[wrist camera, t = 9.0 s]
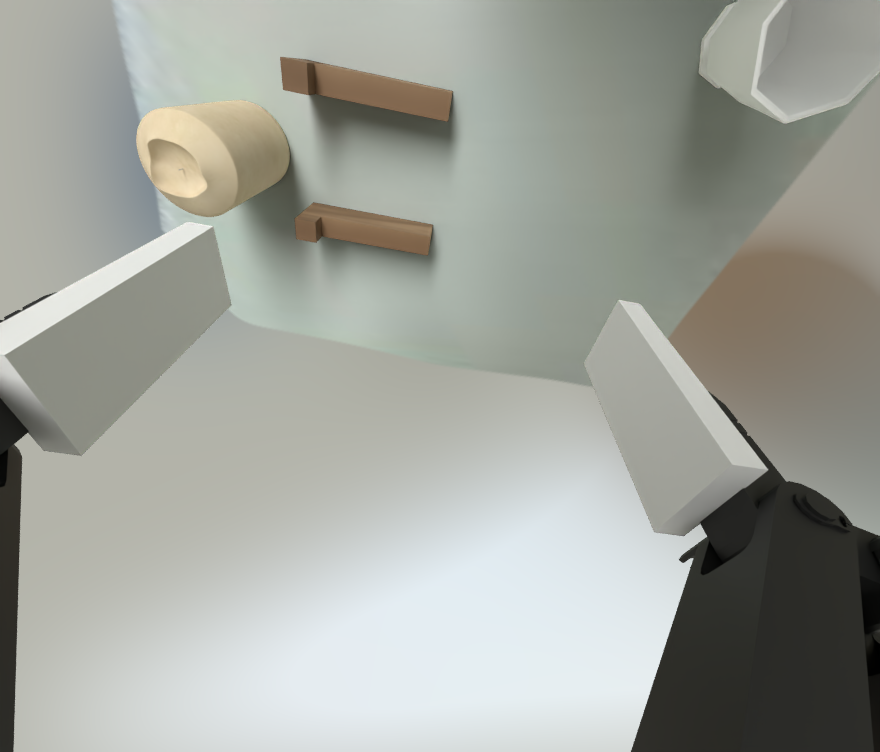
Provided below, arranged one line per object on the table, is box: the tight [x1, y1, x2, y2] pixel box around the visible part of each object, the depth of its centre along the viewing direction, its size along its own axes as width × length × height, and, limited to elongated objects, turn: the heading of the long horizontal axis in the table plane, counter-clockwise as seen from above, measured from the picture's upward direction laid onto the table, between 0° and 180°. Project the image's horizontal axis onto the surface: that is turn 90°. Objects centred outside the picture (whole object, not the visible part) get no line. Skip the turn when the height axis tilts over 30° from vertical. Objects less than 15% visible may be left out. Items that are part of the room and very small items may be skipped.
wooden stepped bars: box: [280, 57, 453, 255], centre depth 26 cm, size 10×10×4 cm
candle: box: [136, 100, 290, 217], centre depth 24 cm, size 6×6×10 cm
